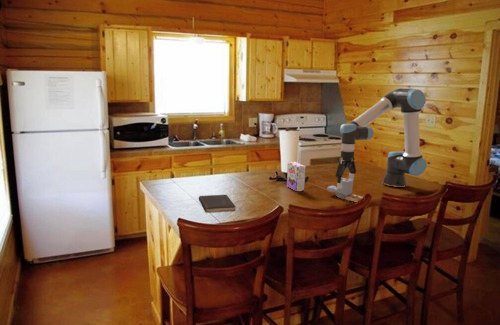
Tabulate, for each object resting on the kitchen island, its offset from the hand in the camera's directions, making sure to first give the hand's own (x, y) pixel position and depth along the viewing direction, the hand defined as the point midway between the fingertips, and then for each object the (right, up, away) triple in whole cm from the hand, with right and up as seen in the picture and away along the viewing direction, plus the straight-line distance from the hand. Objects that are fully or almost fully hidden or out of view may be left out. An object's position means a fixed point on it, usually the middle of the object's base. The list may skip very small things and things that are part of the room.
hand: (345, 186), depth 235 cm
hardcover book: (-74, -9, -17) cm, 77 cm away
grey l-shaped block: (-3, -3, +3) cm, 5 cm away
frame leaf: (+5, -8, -3) cm, 10 cm away
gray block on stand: (0, -7, +1) cm, 7 cm away
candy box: (-27, -3, +17) cm, 33 cm away
